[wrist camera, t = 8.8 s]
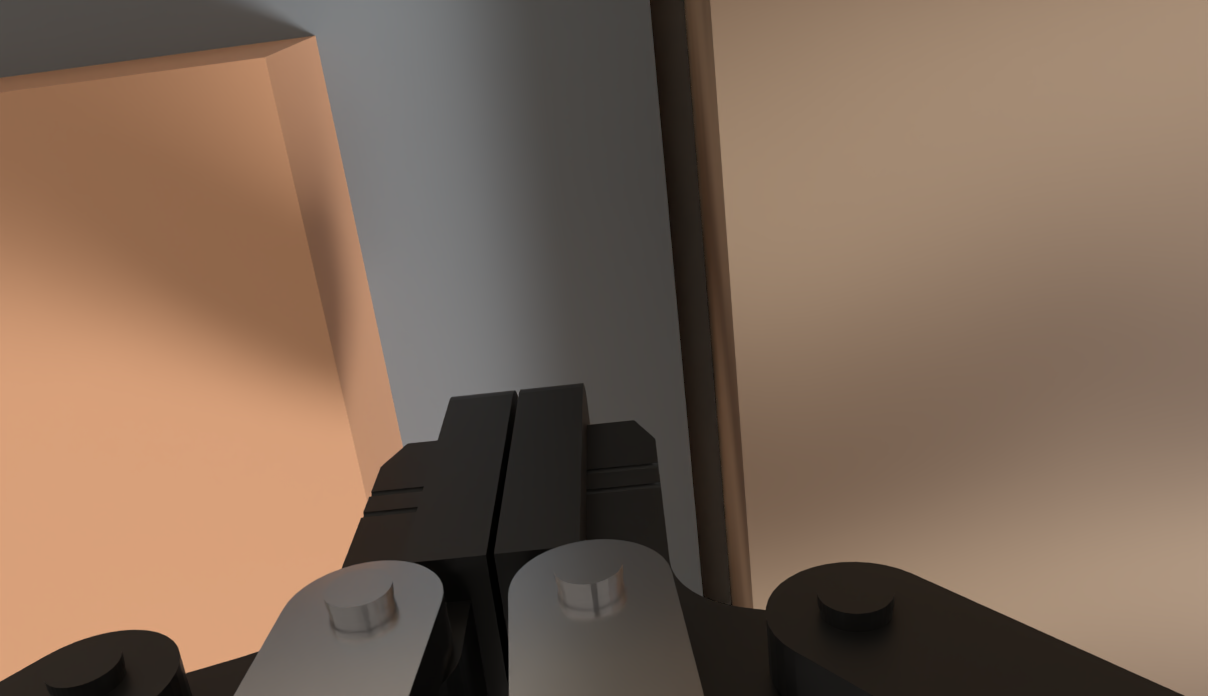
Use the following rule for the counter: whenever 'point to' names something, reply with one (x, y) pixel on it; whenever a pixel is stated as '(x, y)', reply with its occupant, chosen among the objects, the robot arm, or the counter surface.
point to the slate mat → (471, 190)
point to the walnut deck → (966, 304)
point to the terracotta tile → (179, 351)
